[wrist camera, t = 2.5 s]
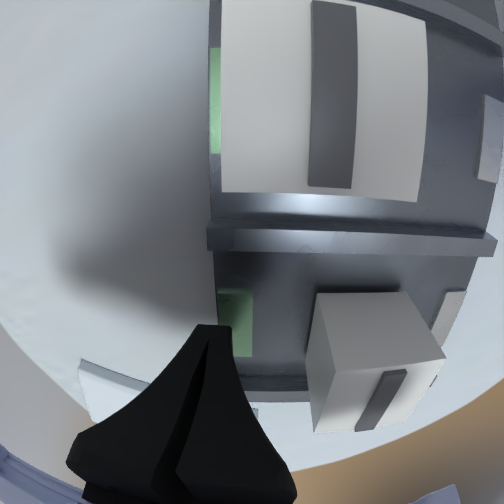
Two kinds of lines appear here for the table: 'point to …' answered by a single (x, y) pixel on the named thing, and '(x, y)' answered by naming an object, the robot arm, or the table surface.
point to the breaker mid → (322, 99)
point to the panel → (363, 211)
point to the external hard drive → (109, 390)
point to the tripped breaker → (368, 360)
